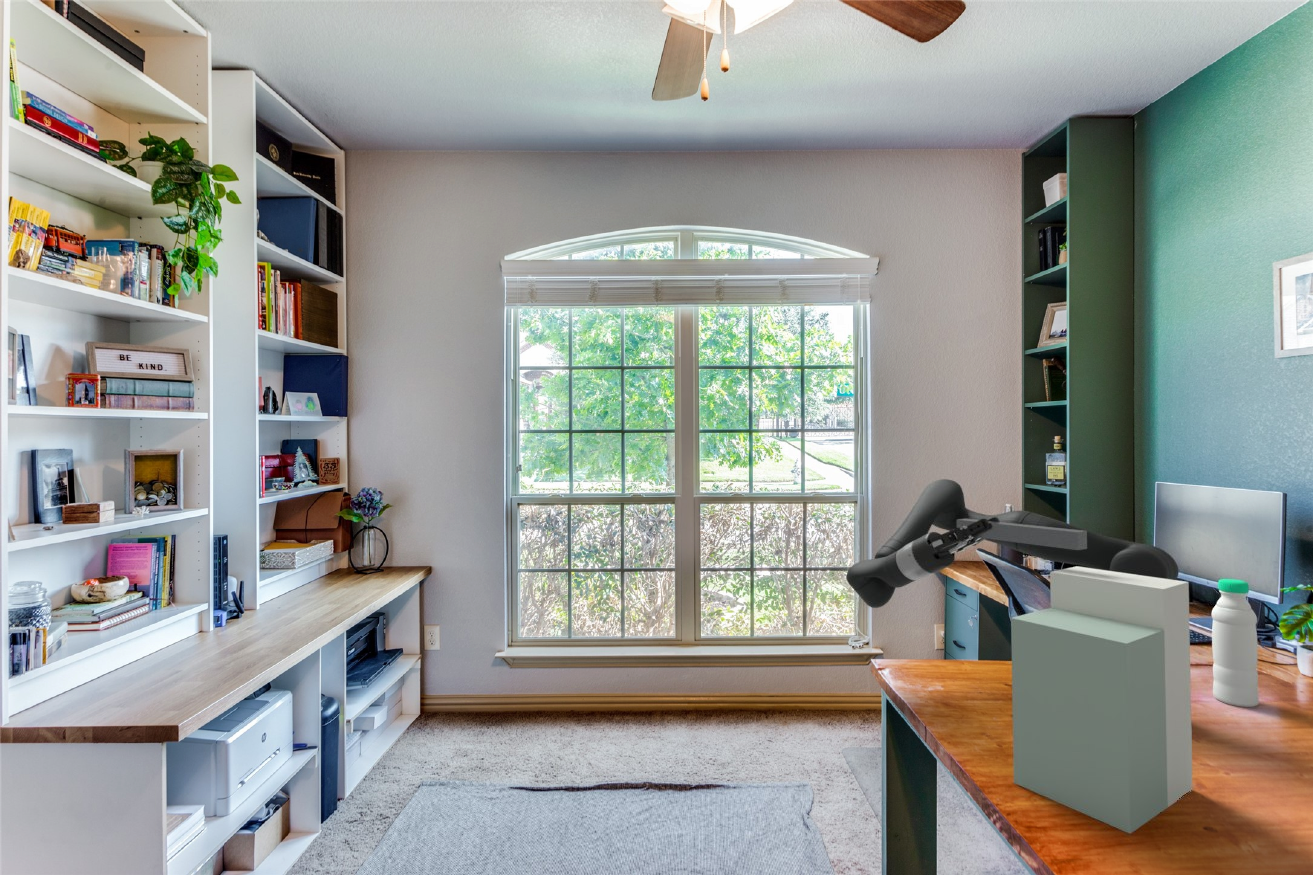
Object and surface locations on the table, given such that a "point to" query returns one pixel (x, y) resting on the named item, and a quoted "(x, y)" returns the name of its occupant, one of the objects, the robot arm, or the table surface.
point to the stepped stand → (1105, 695)
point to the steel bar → (1032, 534)
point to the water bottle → (1234, 646)
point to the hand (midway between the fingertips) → (993, 522)
